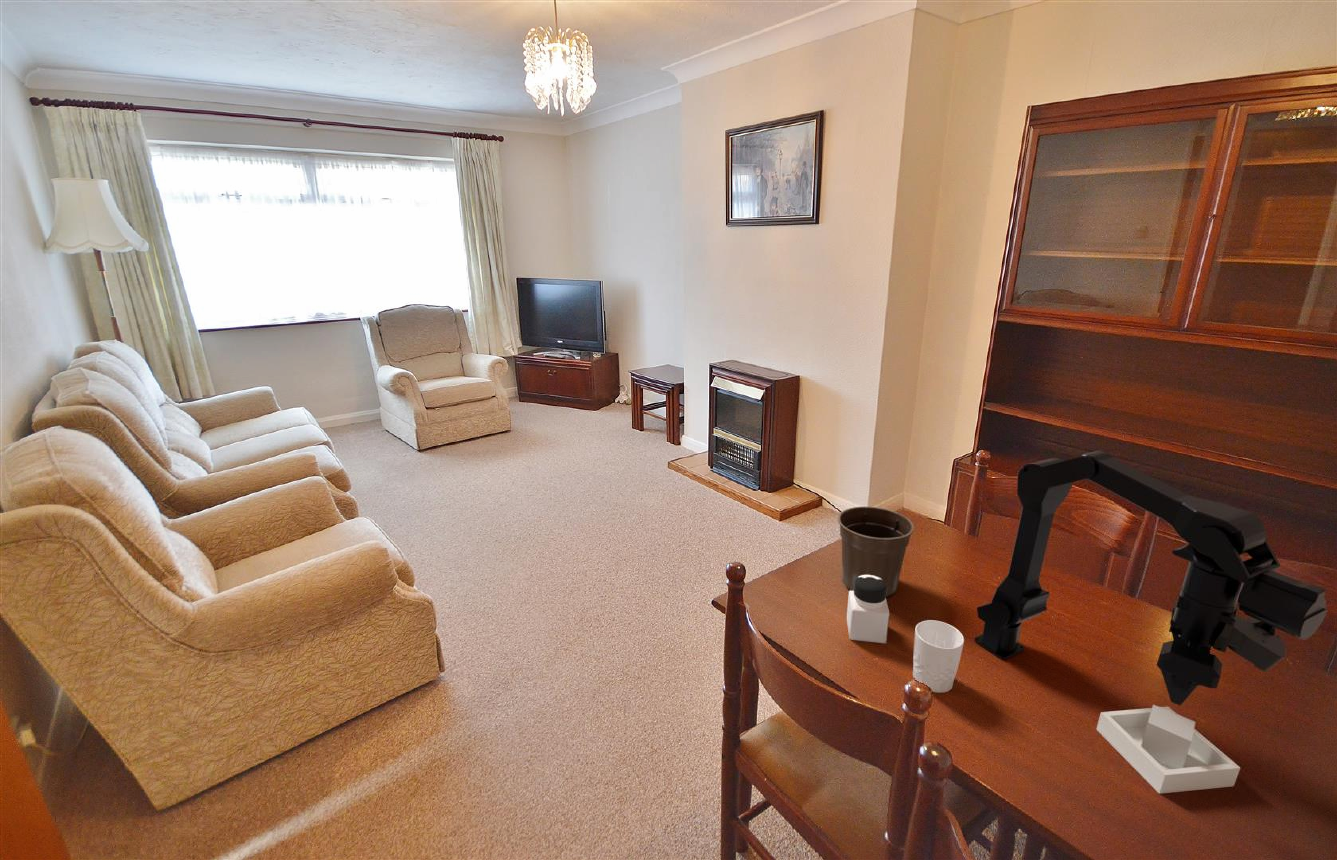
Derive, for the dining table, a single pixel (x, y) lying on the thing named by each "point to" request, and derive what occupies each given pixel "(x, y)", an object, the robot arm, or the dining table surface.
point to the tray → (1198, 772)
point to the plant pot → (873, 544)
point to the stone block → (1168, 737)
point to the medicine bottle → (868, 610)
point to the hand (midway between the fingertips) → (1179, 686)
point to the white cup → (936, 654)
